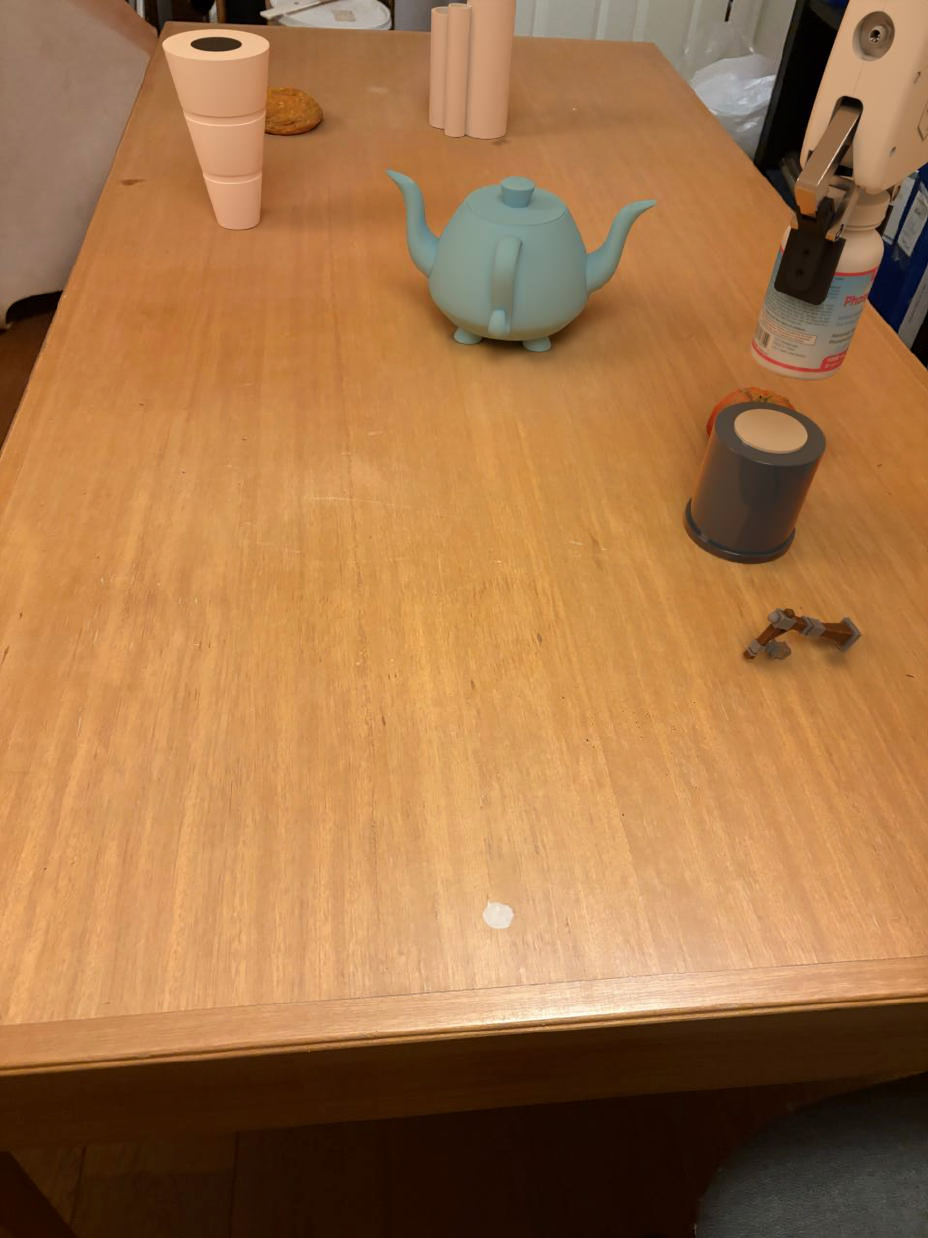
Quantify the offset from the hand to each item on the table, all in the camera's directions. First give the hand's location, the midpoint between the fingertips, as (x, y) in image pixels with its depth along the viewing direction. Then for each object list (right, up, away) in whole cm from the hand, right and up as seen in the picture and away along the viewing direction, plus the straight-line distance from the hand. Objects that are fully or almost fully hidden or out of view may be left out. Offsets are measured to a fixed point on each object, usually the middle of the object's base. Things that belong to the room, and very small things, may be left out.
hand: (823, 275), depth 59 cm
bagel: (-48, +47, +72) cm, 98 cm away
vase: (-22, +48, +74) cm, 91 cm away
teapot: (-18, +8, +36) cm, 41 cm away
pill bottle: (0, -4, +4) cm, 6 cm away
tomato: (+2, -6, +23) cm, 24 cm away
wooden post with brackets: (+1, -24, +6) cm, 25 cm away
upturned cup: (-1, -14, +15) cm, 21 cm away
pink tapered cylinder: (-49, +24, +49) cm, 74 cm away
